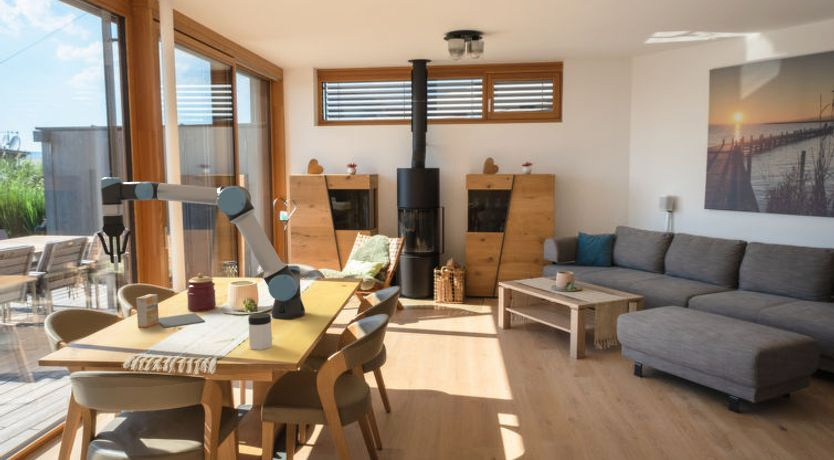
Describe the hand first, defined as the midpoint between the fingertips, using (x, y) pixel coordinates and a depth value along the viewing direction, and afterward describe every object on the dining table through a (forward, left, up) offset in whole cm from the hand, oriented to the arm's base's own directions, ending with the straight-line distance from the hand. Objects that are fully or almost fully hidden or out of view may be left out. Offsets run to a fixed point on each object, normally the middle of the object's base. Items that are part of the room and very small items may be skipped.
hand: (116, 270), depth 245 cm
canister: (+18, -38, -26) cm, 49 cm away
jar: (-60, -40, -26) cm, 77 cm away
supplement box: (0, -11, -26) cm, 28 cm away
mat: (0, -24, -25) cm, 35 cm away
